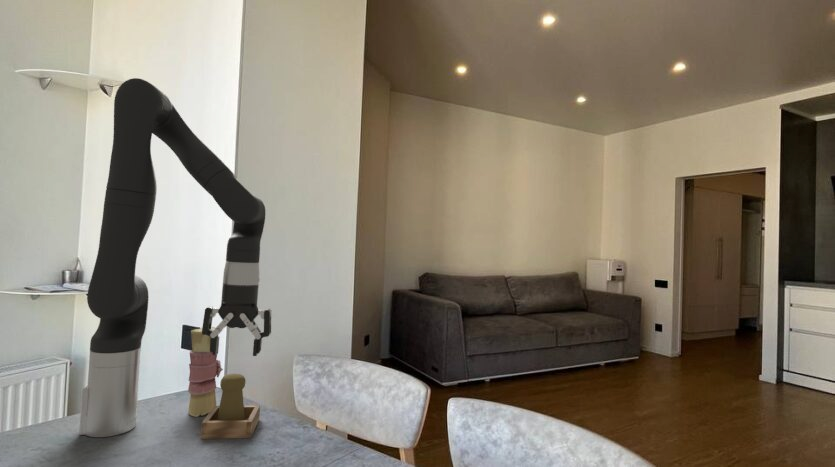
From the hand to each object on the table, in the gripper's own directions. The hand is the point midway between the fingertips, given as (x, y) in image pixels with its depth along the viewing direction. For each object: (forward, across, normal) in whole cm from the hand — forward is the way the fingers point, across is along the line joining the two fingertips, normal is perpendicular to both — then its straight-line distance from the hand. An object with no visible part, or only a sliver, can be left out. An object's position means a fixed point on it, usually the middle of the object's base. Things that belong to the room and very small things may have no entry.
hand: (235, 354), depth 100 cm
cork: (+16, 0, 0) cm, 16 cm away
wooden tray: (+16, 0, 0) cm, 16 cm away
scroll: (+17, -9, +11) cm, 22 cm away
